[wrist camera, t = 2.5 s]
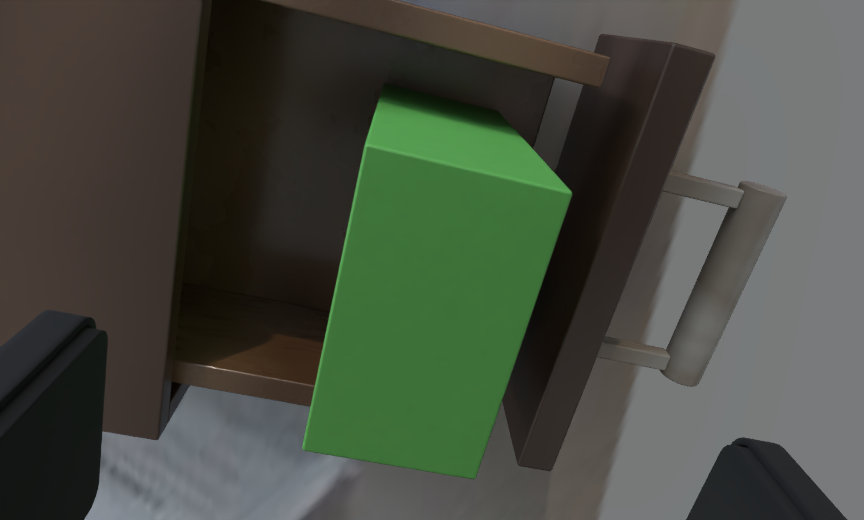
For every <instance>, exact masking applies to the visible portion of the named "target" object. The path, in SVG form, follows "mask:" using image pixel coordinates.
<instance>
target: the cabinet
mask: <svg viewBox="0 0 864 520" xmlns="http://www.w3.org/2000/svg"><path fill="white" fill-rule="evenodd" d="M211 6H212V0H0V347H1V346H2V345H3V344H5V343H6V342H7V341H8V340H9V339H11V338H12V337H13V336H14V335H15V334H17V333H18V332H19V331H20V330H21V329H23V328H24V327H25V326H26V325H27V324H29V323H30V322H31V321H32V320H33V319H35V318H36V317H37V316H38V315H39V314H41V313H42V312H44V311H45V310H54V311H60V312H65V313H70V314H76V315H81V316H87V317H92V318H93V319H94V320H95V323H96V329H99V330H104V331H106V332H107V336H108V348H107V364H106V380H105V395H104V411H103V427H102V431H104V432H110V433H116V434H122V435H128V436H134V437H140V438H146V439H152V440H158V439H159V437H160V436H161V434H162V432H163V430H164V429H165V427H166V425H167V423H168V422H169V420H170V419H171V417H172V415H173V413H174V412H175V410H176V408H177V407H178V405H179V403H180V401H181V400H182V398H183V396H184V394H185V393H186V391H187V389H188V387H189V386H190V385H187V384H181V383H176V382H172V374H173V365H174V355H175V346H176V336H177V327H178V317H179V308H180V299H181V289H182V280H183V270H184V261H185V251H186V242H187V232H188V223H189V214H190V204H191V195H192V185H193V176H194V166H195V157H196V148H197V138H198V129H199V119H200V110H201V100H202V91H203V82H204V72H205V63H206V53H207V44H208V34H209V25H210V15H211Z"/></svg>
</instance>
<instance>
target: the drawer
mask: <svg viewBox="0 0 864 520" xmlns="http://www.w3.org/2000/svg"><path fill="white" fill-rule="evenodd" d="M714 59H715V55H714V54H713V53H710V52H707V51H703V50H699V49H696V48H692V47H688V46H685V45H681V44H677V43H672V42H664V41H655V40H647V39H639V38H631V37H623V36H615V35H607V34H601V35H600V36H599V39H598V42H597V45H596V48H595V51H594V53H593V52H590V51H586V50H582V49H578V48H575V47H571V46H567V45H563V44H560V43H556V42H552V41H548V40H545V39H541V38H537V37H533V36H530V35H526V34H522V33H518V32H515V31H511V30H507V29H503V28H500V27H496V26H492V25H488V24H485V23H481V22H477V21H473V20H470V19H466V18H462V17H458V16H455V15H451V14H447V13H443V12H440V11H436V10H432V9H428V8H425V7H421V6H417V5H413V4H410V3H406V2H402V1H398V0H212V6H211V15H210V25H209V34H208V44H207V53H206V63H205V72H204V82H203V91H202V100H201V110H200V119H199V129H198V138H197V148H196V157H195V166H194V176H193V185H192V195H191V204H190V214H189V223H188V232H187V242H186V251H185V261H184V270H183V280H182V289H181V299H180V308H179V317H178V327H177V336H176V346H175V355H174V365H173V374H172V382H176V383H181V384H187V385H192V386H198V387H203V388H209V389H215V390H220V391H226V392H231V393H237V394H243V395H248V396H254V397H259V398H265V399H271V400H276V401H282V402H287V403H293V404H298V405H304V406H310V407H311V402H312V397H313V392H314V388H315V383H316V378H317V373H318V368H319V363H320V359H321V354H322V349H323V344H324V339H325V334H326V329H327V325H328V320H329V315H330V310H331V305H332V300H333V296H334V291H335V286H336V281H337V276H338V271H339V266H340V262H341V257H342V252H343V247H344V242H345V237H346V233H347V228H348V223H349V218H350V213H351V208H352V203H353V199H354V194H355V189H356V184H357V179H358V174H359V170H360V165H361V160H362V155H363V150H364V146H365V142H366V139H367V136H368V133H369V129H370V126H371V123H372V120H373V117H374V113H375V110H376V107H377V104H378V100H379V97H380V94H381V91H382V87H383V85H384V83H387V84H391V85H395V86H399V87H403V88H407V89H411V90H415V91H419V92H423V93H427V94H431V95H435V96H439V97H443V98H447V99H451V100H455V101H459V102H463V103H467V104H471V105H475V106H479V107H483V108H488V109H492V110H496V111H498V112H500V113H501V115H502V116H503V117H504V118H505V119H506V120H507V121H508V122H509V123H510V125H511V126H512V127H513V128H514V129H515V130H516V131H517V132H518V133H519V134H520V136H521V137H522V138H523V139H524V140H525V141H526V142H527V143H528V144H529V145H530V147H531V148H532V149H533V147H534V144H535V141H536V137H537V134H538V131H539V128H540V124H541V121H542V118H543V115H544V111H545V108H546V105H547V102H548V98H549V95H550V92H551V89H552V85H553V82H554V79H555V77H556V78H560V79H564V80H568V81H572V82H576V83H579V84H583V88H582V91H581V94H580V97H579V100H578V103H577V106H576V110H575V113H574V116H573V119H572V122H571V125H570V128H569V131H568V134H567V137H566V140H565V143H564V146H563V149H562V153H561V156H560V159H559V162H558V165H557V168H556V171H555V174H556V175H557V176H558V177H559V178H560V180H561V181H562V182H563V183H564V184H565V185H566V186H567V187H568V188H569V189H570V191H571V192H572V197H571V200H570V203H569V206H568V209H567V212H566V215H565V217H564V220H563V223H562V226H561V229H560V232H559V235H558V238H557V241H556V244H555V247H554V250H553V253H552V256H551V259H550V261H549V264H548V267H547V270H546V273H545V276H544V279H543V282H542V285H541V288H540V291H539V294H538V297H537V300H536V303H535V305H534V308H533V311H532V314H531V317H530V320H529V323H528V326H527V329H526V332H525V335H524V338H523V341H522V344H521V347H520V350H519V352H518V355H517V358H516V361H515V364H514V367H513V370H512V373H511V376H510V379H509V382H508V385H507V388H506V391H505V394H504V396H503V399H502V402H503V407H504V411H505V415H506V419H507V423H508V427H509V431H510V435H511V439H512V443H513V447H514V451H515V456H516V460H517V464H518V465H519V466H523V467H528V468H534V469H540V470H546V471H551V470H552V469H553V466H554V464H555V461H556V459H557V456H558V453H559V451H560V448H561V446H562V443H563V441H564V438H565V436H566V433H567V431H568V428H569V426H570V423H571V421H572V418H573V416H574V413H575V410H576V408H577V405H578V403H579V400H580V398H581V395H582V393H583V390H584V388H585V385H586V383H587V380H588V378H589V375H590V373H591V370H592V367H593V365H594V362H595V360H596V357H599V358H604V359H609V360H614V361H619V362H624V363H629V364H634V365H639V366H644V367H649V368H654V369H659V370H660V371H661V373H662V374H663V375H665V376H666V377H667V378H669V379H670V380H672V381H674V382H676V383H678V384H681V385H685V386H691V387H692V386H696V385H698V384H699V382H700V380H701V378H702V376H703V374H704V371H705V369H706V367H707V365H708V363H709V361H710V359H711V357H712V354H713V352H714V350H715V348H716V346H717V344H718V342H719V340H720V338H721V335H722V333H723V331H724V329H725V327H726V325H727V323H728V320H729V319H730V317H731V314H732V312H733V310H734V308H735V306H736V304H737V302H738V299H739V298H740V295H741V293H742V291H743V289H744V287H745V285H746V283H747V281H748V279H749V276H750V274H751V272H752V270H753V268H754V266H755V264H756V262H757V260H758V257H759V255H760V253H761V251H762V249H763V247H764V245H765V243H766V240H767V238H768V236H769V234H770V232H771V230H772V228H773V226H774V224H775V222H776V220H777V217H778V215H779V213H780V211H781V209H782V207H783V205H784V203H785V201H786V198H787V195H786V194H784V193H783V192H781V191H778V190H776V189H773V188H770V187H767V186H764V185H761V184H757V183H753V182H749V181H741V182H740V183H739V186H738V188H737V187H735V186H732V185H727V184H723V183H719V182H715V181H711V180H707V179H703V178H699V177H695V176H691V175H687V174H683V173H679V172H674V171H670V170H671V168H672V165H673V163H674V160H675V158H676V155H677V153H678V150H679V147H680V145H681V142H682V140H683V137H684V135H685V132H686V130H687V127H688V125H689V122H690V120H691V117H692V115H693V112H694V110H695V107H696V104H697V102H698V99H699V97H700V94H701V92H702V89H703V87H704V84H705V82H706V79H707V77H708V74H709V72H710V69H711V67H712V64H713V62H714ZM662 191H663V192H668V193H672V194H676V195H680V196H684V197H689V198H693V199H697V200H701V201H705V202H709V203H713V204H718V205H722V206H726V207H729V208H728V211H727V213H726V215H725V217H724V220H723V222H722V224H721V227H720V229H719V231H718V234H717V236H716V238H715V240H714V242H713V245H712V247H711V249H710V251H709V254H708V256H707V258H706V261H705V263H704V265H703V267H702V270H701V272H700V274H699V276H698V279H697V281H696V283H695V285H694V288H693V290H692V292H691V295H690V297H689V299H688V301H687V304H686V306H685V308H684V310H683V313H682V315H681V317H680V319H679V322H678V324H677V327H676V329H675V331H674V333H673V336H672V338H671V340H670V342H669V344H668V347H667V349H666V350H665V349H663V348H658V347H654V346H649V345H644V344H639V343H634V342H629V341H624V340H620V339H615V338H610V337H605V335H606V332H607V330H608V327H609V325H610V322H611V319H612V317H613V314H614V312H615V309H616V307H617V304H618V302H619V299H620V297H621V294H622V292H623V289H624V287H625V284H626V282H627V279H628V276H629V274H630V271H631V269H632V266H633V264H634V261H635V259H636V256H637V254H638V251H639V249H640V246H641V244H642V241H643V239H644V236H645V233H646V231H647V228H648V226H649V223H650V221H651V218H652V216H653V213H654V211H655V208H656V206H657V203H658V201H659V198H660V196H661V193H662Z"/></svg>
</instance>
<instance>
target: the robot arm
mask: <svg viewBox="0 0 864 520" xmlns="http://www.w3.org/2000/svg"><path fill="white" fill-rule="evenodd" d="M107 348H108V336H107V332H106V331H104V330H99V329H96V323H95V320H94V319H93V318H92V317H87V316H81V315H76V314H70V313H65V312H60V311H54V310H45V311H44V312H42V313H41V314H39V315H38V316H37V317H36V318H35V319H33V320H32V321H31V322H30V323H29V324H27V325H26V326H25V327H24V328H23V329H21V330H20V331H19V332H18V333H17V334H15V335H14V336H13V337H12V338H11V339H9V340H8V341H7V342H6V343H5V344H3V345H2V346H1V347H0V520H84V519H85V517H86V516H87V514H88V512H89V511H90V509H91V507H92V505H93V502H94V500H95V497H96V494H97V490H98V485H99V474H100V458H101V442H102V427H103V411H104V395H105V380H106V364H107ZM686 520H847V519H846V518H845V517H844V516H843V515H842V513H841V512H840V511H839V510H838V509H837V508H836V507H835V506H834V504H833V503H832V502H831V501H830V500H829V499H828V498H827V497H826V496H825V494H824V493H823V492H822V491H821V490H820V489H819V488H818V486H817V485H816V484H815V483H814V482H813V481H812V480H811V478H810V477H809V476H808V475H807V474H806V473H805V472H804V470H803V469H802V468H801V467H800V466H799V465H798V464H797V463H796V461H795V460H794V459H793V458H792V457H791V456H790V455H789V454H788V452H786V450H785V449H784V448H783V447H781V446H780V445H778V444H775V443H770V442H765V441H759V440H754V439H749V438H738V439H736V440H735V441H734V442H732V444H731V445H727V446H725V447H724V448H723V449H722V451H721V452H720V454H719V456H718V458H717V460H716V462H715V464H714V466H713V468H712V470H711V472H710V474H709V476H708V478H707V480H706V482H705V484H704V485H703V487H702V489H701V492H700V494H699V495H698V498H697V499H696V502H695V503H694V505H693V507H692V509H691V511H690V513H689V515H688V517H687V519H686Z"/></svg>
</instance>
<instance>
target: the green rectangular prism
mask: <svg viewBox="0 0 864 520" xmlns="http://www.w3.org/2000/svg"><path fill="white" fill-rule="evenodd" d="M571 197H572V192H571V191H570V189H569V188H568V187H567V186H566V185H565V184H564V183H563V182H562V181H561V180H560V178H559V177H558V176H557V175H556V174H555V173H554V172H553V171H552V170H551V169H550V167H549V166H548V165H547V164H546V163H545V162H544V161H543V160H542V159H541V158H540V156H539V155H538V154H537V153H536V152H535V151H534V150H533V149H532V148H531V147H530V145H529V144H528V143H527V142H526V141H525V140H524V139H523V138H522V137H521V136H520V134H519V133H518V132H517V131H516V130H515V129H514V128H513V127H512V126H511V125H510V123H509V122H508V121H507V120H506V119H505V118H504V117H503V116H502V115H501V113H500V112H498V111H496V110H492V109H488V108H483V107H479V106H475V105H471V104H467V103H463V102H459V101H455V100H451V99H447V98H443V97H439V96H435V95H431V94H427V93H423V92H419V91H415V90H411V89H407V88H403V87H399V86H395V85H391V84H387V83H384V85H383V87H382V91H381V94H380V97H379V100H378V104H377V107H376V110H375V113H374V117H373V120H372V123H371V126H370V129H369V133H368V136H367V139H366V142H365V146H364V150H363V155H362V160H361V165H360V170H359V174H358V179H357V184H356V189H355V194H354V199H353V203H352V208H351V213H350V218H349V223H348V228H347V233H346V237H345V242H344V247H343V252H342V257H341V262H340V266H339V271H338V276H337V281H336V286H335V291H334V296H333V300H332V305H331V310H330V315H329V320H328V325H327V329H326V334H325V339H324V344H323V349H322V354H321V359H320V363H319V368H318V373H317V378H316V383H315V388H314V392H313V397H312V402H311V407H310V412H309V417H308V421H307V426H306V431H305V436H304V441H303V446H302V448H303V450H304V451H310V452H315V453H321V454H327V455H333V456H339V457H345V458H351V459H357V460H363V461H368V462H374V463H380V464H386V465H392V466H398V467H404V468H410V469H416V470H421V471H427V472H433V473H439V474H445V475H451V476H457V477H463V478H469V479H475V478H476V476H477V473H478V470H479V467H480V464H481V461H482V458H483V455H484V452H485V449H486V446H487V443H488V440H489V438H490V435H491V432H492V429H493V426H494V423H495V420H496V417H497V414H498V411H499V408H500V405H501V402H502V399H503V396H504V394H505V391H506V388H507V385H508V382H509V379H510V376H511V373H512V370H513V367H514V364H515V361H516V358H517V355H518V352H519V350H520V347H521V344H522V341H523V338H524V335H525V332H526V329H527V326H528V323H529V320H530V317H531V314H532V311H533V308H534V305H535V303H536V300H537V297H538V294H539V291H540V288H541V285H542V282H543V279H544V276H545V273H546V270H547V267H548V264H549V261H550V259H551V256H552V253H553V250H554V247H555V244H556V241H557V238H558V235H559V232H560V229H561V226H562V223H563V220H564V217H565V215H566V212H567V209H568V206H569V203H570V200H571Z"/></svg>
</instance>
